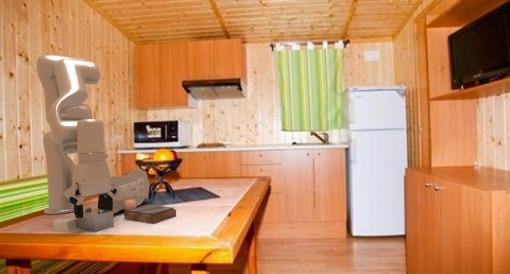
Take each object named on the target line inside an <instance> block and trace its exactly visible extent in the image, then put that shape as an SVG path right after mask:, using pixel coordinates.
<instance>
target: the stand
mask: <svg viewBox="0 0 510 274" xmlns="http://www.w3.org/2000/svg"><path fill="white" fill-rule="evenodd" d="M123 212H124V213H123V216H124V217H123V220H125V219H127V220H126V221H132V220H133V221H132V222H138V221H139V223H144V222H145V224H150V223H151V224H152V225H154V224H157V223H161V222H164V221H165V220H166V219H167V220H169V219H172V218H174V217H177V209H176V208H174V207H171V206H165V205H164V206H163V205H155V204H154V205H153V204H145V205H144V204H143V205H139V206H136V208H133V209H129V210H126V212H125V211H123ZM163 220H164V221H163ZM160 221H161V222H160Z"/></svg>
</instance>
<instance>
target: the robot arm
mask: <svg viewBox="0 0 510 274" xmlns="http://www.w3.org/2000/svg"><path fill="white" fill-rule="evenodd" d="M36 71H37V72H36V73H37V75H38V76H37V77H38V79H39V80H40V81H39V82H40V83H41V86H42V89H43V92H44V106H45V119H46V122H47V123H48V125H49V129H50V131H47V132H45V134H44V135H43V136H42V145H43V150H44V153H45V154H44V155H45V159H46V160H45V161H46V162H45V163H46V174H47V175H46V178H47V198H48V199H47V201H46V204H47V205H48V207H47V208H45V209H44V210H43V214H45V215H61V214H67V213H68V214H69V213H73V214H74V218H83V217H84V216H83V210H84V205H83V202H84V200H85V198H89V197H94V196H99V195H100V194H104V195H105V196H106V198H105V199H104V202H105V210H111V211H112V210H113V198H114V195H115V193H116V192H117V189H118V186H119V183H118V182H115V181H113V180H111V177H112V176H111V171H110V166H109V164H108V162H107V161H106V160H107V159H108V158H109V154H108V153H106V147H105V146H106V145H105V125H104V122H103V120H101V119H99V118H93V111H92V109H91V107H90V106H89V105H88V104H85V102H86V101H87V100H88V98H89V92H88V90H87V86H86V85H97V84H98V83H99V82H100V80H101V70H100V67H99V66H98V64H97V63H96V62H95V61H92V60H88V59H86V58H79V57H72V56H66V55H58V54H57V55H56V54H42V55H39V57H37V60H36ZM72 154H77V162H78V163H77V164H75V163H76V162H74V160H73V159H71V157H70V156H69V155H72ZM111 185H112V186H113V187H112V189H111Z"/></svg>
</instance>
